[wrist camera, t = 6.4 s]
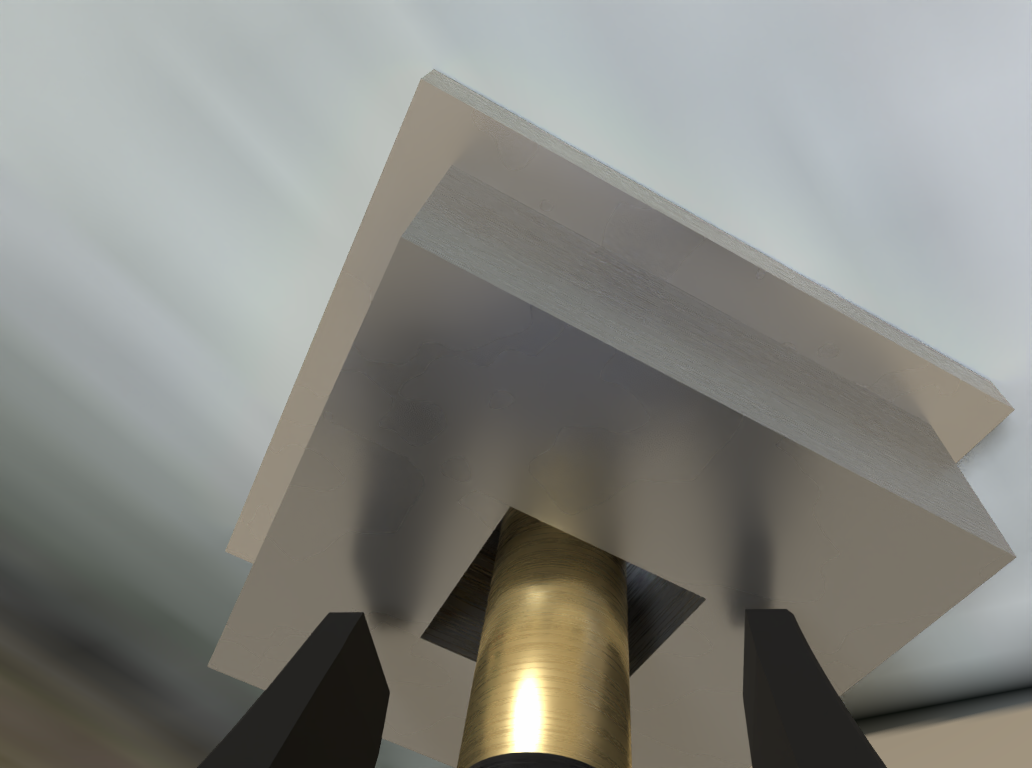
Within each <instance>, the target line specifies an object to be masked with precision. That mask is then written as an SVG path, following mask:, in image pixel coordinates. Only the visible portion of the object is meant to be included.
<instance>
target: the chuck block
mask: <svg viewBox="0 0 1032 768" xmlns="http://www.w3.org/2000/svg"><path fill="white" fill-rule="evenodd" d="M1014 410H1015V409H1014V408H1013V407H1012V406H1011V405H1010V404H1009V402H1008V401H1007V400H1006V399H1005V398H1004V396H1003V395H1002V394H1001V393H1000V392H999V391H998V389H997V388H996V387H995V386H994V385H993V383H992V382H991V381H989V380H987V379H985V378H983V377H982V376H980V375H978V374H976V373H975V372H973V371H971V370H969V369H967V368H966V367H964V366H962V365H960V364H959V363H957V362H955V361H953V360H951V359H950V358H948V357H946V356H944V355H942V354H941V353H939V352H937V351H935V350H934V349H932V348H930V347H928V346H926V345H925V344H923V343H921V342H919V341H918V340H916V339H914V338H912V337H910V336H909V335H907V334H905V333H903V332H902V331H900V330H898V329H896V328H894V327H893V326H891V325H889V324H887V323H885V322H884V321H882V320H880V319H878V318H877V317H875V316H873V315H871V314H869V313H868V312H866V311H864V310H862V309H861V308H859V307H857V306H855V305H853V304H852V303H850V302H848V301H846V300H844V299H843V298H841V297H839V296H837V295H836V294H834V293H832V292H830V291H828V290H827V289H825V288H823V287H821V286H820V285H818V284H816V283H814V282H812V281H811V280H809V279H807V278H805V277H804V276H802V275H800V274H798V273H796V272H795V271H793V270H791V269H789V268H787V267H786V266H784V265H782V264H780V263H779V262H777V261H775V260H773V259H771V258H770V257H768V256H766V255H764V254H763V253H761V252H759V251H757V250H755V249H754V248H752V247H750V246H748V245H746V244H745V243H743V242H741V241H739V240H738V239H736V238H734V237H732V236H730V235H729V234H727V233H725V232H723V231H722V230H720V229H718V228H716V227H714V226H713V225H711V224H709V223H707V222H706V221H704V220H702V219H700V218H698V217H697V216H695V215H693V214H691V213H689V212H688V211H686V210H684V209H682V208H681V207H679V206H677V205H675V204H673V203H672V202H670V201H668V200H666V199H665V198H663V197H661V196H659V195H657V194H656V193H654V192H652V191H650V190H648V189H647V188H645V187H643V186H641V185H640V184H638V183H636V182H634V181H632V180H631V179H629V178H627V177H625V176H624V175H622V174H620V173H618V172H616V171H615V170H613V169H611V168H609V167H608V166H606V165H604V164H602V163H600V162H599V161H597V160H595V159H593V158H591V157H590V156H588V155H586V154H584V153H583V152H581V151H579V150H577V149H575V148H574V147H572V146H570V145H568V144H567V143H565V142H563V141H561V140H559V139H558V138H556V137H554V136H552V135H550V134H549V133H547V132H545V131H543V130H542V129H540V128H538V127H536V126H534V125H533V124H531V123H529V122H527V121H526V120H524V119H522V118H520V117H518V116H517V115H515V114H513V113H511V112H510V111H508V110H506V109H504V108H502V107H501V106H499V105H497V104H495V103H493V102H492V101H490V100H488V99H486V98H485V97H483V96H481V95H479V94H477V93H476V92H474V91H472V90H470V89H469V88H467V87H465V86H463V85H461V84H460V83H458V82H456V81H454V80H452V79H451V78H449V77H447V76H445V75H444V74H442V73H440V72H438V71H436V70H435V69H433V70H432V71H431V72H429V73H428V74H427V75H425V76H424V77H423V78H421V80H420V82H419V85H418V87H417V90H416V92H415V94H414V97H413V99H412V102H411V104H410V106H409V109H408V111H407V114H406V116H405V118H404V121H403V123H402V126H401V128H400V131H399V133H398V135H397V138H396V140H395V143H394V145H393V147H392V150H391V152H390V155H389V157H388V160H387V162H386V164H385V167H384V169H383V172H382V174H381V176H380V179H379V181H378V184H377V186H376V189H375V191H374V193H373V196H372V198H371V201H370V203H369V205H368V208H367V210H366V213H365V215H364V218H363V220H362V222H361V225H360V227H359V230H358V232H357V234H356V237H355V239H354V242H353V244H352V246H351V249H350V251H349V254H348V256H347V259H346V261H345V263H344V266H343V268H342V271H341V273H340V275H339V278H338V280H337V283H336V285H335V288H334V290H333V292H332V295H331V297H330V300H329V302H328V304H327V307H326V309H325V312H324V314H323V317H322V319H321V321H320V324H319V326H318V329H317V331H316V333H315V336H314V338H313V341H312V343H311V346H310V348H309V350H308V353H307V355H306V358H305V360H304V362H303V365H302V367H301V370H300V372H299V374H298V377H297V379H296V382H295V384H294V387H293V389H292V391H291V394H290V396H289V399H288V401H287V403H286V406H285V408H284V411H283V413H282V416H281V418H280V420H279V423H278V425H277V428H276V430H275V432H274V435H273V437H272V440H271V442H270V445H269V447H268V449H267V452H266V454H265V457H264V459H263V461H262V464H261V466H260V469H259V471H258V474H257V476H256V478H255V481H254V483H253V486H252V488H251V490H250V493H249V495H248V498H247V500H246V502H245V505H244V507H243V510H242V512H241V515H240V517H239V519H238V522H237V524H236V527H235V529H234V531H233V534H232V536H231V539H230V541H229V544H228V546H227V548H226V551H225V552H228V553H230V554H232V555H235V556H237V557H239V558H241V559H244V560H246V561H248V562H251V563H253V566H252V568H251V571H250V573H249V575H248V577H247V580H246V582H245V584H244V586H243V588H242V591H241V593H240V595H239V597H238V600H237V602H236V604H235V606H234V608H233V611H232V613H231V615H230V617H229V620H228V622H227V624H226V626H225V628H224V631H223V633H222V635H221V637H220V639H219V642H218V644H217V646H216V648H215V651H214V653H213V655H212V657H211V659H210V662H209V664H208V666H207V667H209V668H212V669H214V670H217V671H219V672H222V673H224V674H226V675H229V676H231V677H234V678H236V679H239V680H241V681H244V682H246V683H248V684H251V685H253V686H256V687H258V688H261V689H263V690H266V689H267V688H268V686H269V685H270V684H271V683H272V682H273V680H274V679H275V678H276V677H277V675H278V674H279V673H280V672H281V671H282V669H283V668H284V667H285V666H286V664H287V663H288V662H289V661H290V660H291V658H292V657H293V656H294V655H295V653H296V652H297V651H298V650H299V648H300V647H301V646H302V645H303V643H304V642H305V641H306V640H307V638H308V637H309V636H310V635H311V633H312V632H313V631H314V630H315V628H316V627H317V626H318V625H319V624H320V622H321V621H322V620H323V619H324V618H325V616H326V615H327V614H328V613H329V612H364V615H365V618H366V621H367V624H368V627H369V630H370V633H371V636H372V639H373V642H374V645H375V648H376V651H377V654H378V657H379V660H380V663H381V666H382V669H383V672H384V675H385V678H386V681H387V684H388V687H389V690H390V696H389V702H388V707H387V713H386V719H385V724H384V729H383V734H382V738H383V739H386V740H388V741H391V742H393V743H395V744H398V745H400V746H403V747H405V748H408V749H410V750H413V751H415V752H418V753H420V754H422V755H425V756H427V757H430V758H432V759H435V760H437V761H440V762H442V763H445V764H447V765H449V766H452V767H454V768H457V764H458V759H459V753H460V748H461V743H462V737H463V732H464V726H465V721H466V716H467V710H468V705H469V699H470V694H471V688H472V683H473V678H474V672H475V667H476V661H477V656H478V650H479V645H480V640H481V634H482V629H483V623H484V618H485V613H486V607H487V602H488V596H489V591H490V585H491V580H492V575H493V569H494V564H495V558H496V553H497V547H498V542H499V537H500V531H501V526H502V520H503V516H504V515H505V513H506V512H507V510H508V509H509V508H510V506H511V507H513V508H515V509H517V510H519V511H521V512H523V513H525V514H528V515H530V516H532V517H534V518H536V519H538V520H540V521H542V522H544V523H547V524H549V525H551V526H553V527H555V528H557V529H559V530H561V531H564V532H566V533H568V534H570V535H572V536H574V537H576V538H578V539H580V540H583V541H585V542H587V543H589V544H591V545H593V546H595V547H597V548H600V549H602V550H604V551H606V552H608V553H610V554H612V555H614V556H616V557H619V558H621V559H623V560H625V561H626V571H627V607H628V643H629V679H630V715H631V751H632V768H749V767H750V766H752V762H751V754H750V747H749V740H748V733H747V725H746V718H745V710H744V703H743V665H744V630H745V609H787V610H789V611H790V612H791V613H793V614H794V616H795V618H796V621H797V623H798V625H799V627H800V629H801V631H802V633H803V635H804V637H805V639H806V640H807V642H808V644H809V646H810V648H811V650H812V652H813V653H814V655H815V657H816V659H817V660H818V662H819V664H820V666H821V667H822V669H823V671H824V672H825V674H826V676H827V677H828V679H829V681H830V682H831V684H832V686H833V687H834V689H835V691H836V692H837V694H838V695H839V696H841V695H842V694H843V693H844V692H846V691H847V690H848V689H849V688H851V687H852V686H853V685H855V684H856V683H857V682H858V681H860V680H861V679H862V678H863V677H865V676H866V675H867V674H869V673H870V672H871V671H872V670H874V669H875V668H876V667H877V666H879V665H880V664H881V663H882V662H884V661H885V660H886V659H888V658H889V657H890V656H891V655H893V654H894V653H895V652H896V651H898V650H899V649H900V648H902V647H903V646H904V645H905V644H907V643H908V642H909V641H910V640H912V639H913V638H914V637H916V636H917V635H918V634H919V633H921V632H922V631H923V630H924V629H926V628H927V627H928V626H929V625H931V624H932V623H933V622H935V621H936V620H937V619H938V618H940V617H941V616H942V615H943V614H945V613H946V612H947V611H949V610H950V609H951V608H952V607H954V606H955V605H956V604H957V603H959V602H960V601H961V600H963V599H964V598H965V597H966V596H968V595H969V594H970V593H971V592H973V591H974V590H975V589H976V588H978V587H979V586H980V585H982V584H983V583H984V582H985V581H987V580H988V579H989V578H990V577H992V576H993V575H994V574H996V573H997V572H998V571H999V570H1001V569H1002V568H1003V567H1004V566H1006V565H1007V564H1008V563H1010V562H1011V561H1012V560H1013V559H1015V558H1016V556H1015V554H1014V552H1013V551H1012V549H1011V548H1010V546H1009V545H1008V543H1007V542H1006V540H1005V539H1004V537H1003V536H1002V534H1001V532H1000V531H999V529H998V528H997V526H996V525H995V523H994V522H993V520H992V519H991V517H990V515H989V514H988V512H987V511H986V509H985V508H984V506H983V505H982V503H981V502H980V500H979V498H978V497H977V495H976V494H975V492H974V491H973V489H972V488H971V486H970V485H969V483H968V482H967V480H966V478H965V477H964V475H963V474H962V472H961V471H960V469H959V468H958V466H957V465H956V463H957V462H958V461H959V460H960V459H961V458H962V457H963V456H964V455H966V454H967V453H968V452H969V451H970V450H971V449H972V448H973V447H974V446H975V445H976V444H978V443H979V442H980V441H981V440H982V439H983V438H984V437H985V436H986V435H987V434H989V433H990V432H991V431H992V430H993V429H994V428H995V427H996V426H997V425H998V424H999V423H1001V422H1002V421H1003V420H1004V419H1005V418H1006V417H1007V416H1008V415H1009V414H1010V413H1011V412H1013V411H1014Z"/></svg>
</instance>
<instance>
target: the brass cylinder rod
mask: <svg viewBox="0 0 1032 768" xmlns="http://www.w3.org/2000/svg"><path fill="white" fill-rule="evenodd" d="M457 768H632V751H631V715H630V679H629V643H628V607H627V571H626V561H625V560H623V559H621V558H619V557H616V556H614V555H612V554H610V553H608V552H606V551H604V550H602V549H600V548H597V547H595V546H593V545H591V544H589V543H587V542H585V541H583V540H580V539H578V538H576V537H574V536H572V535H570V534H568V533H566V532H564V531H561V530H559V529H557V528H555V527H553V526H551V525H549V524H547V523H544V522H542V521H540V520H538V519H536V518H534V517H532V516H530V515H528V514H525V513H523V512H521V511H519V510H517V509H515V508H513V507H511V506H510V508H509V509H508V510H507V512H506V513H505V515H504V516H503V520H502V526H501V531H500V537H499V542H498V547H497V553H496V558H495V564H494V569H493V575H492V580H491V585H490V591H489V596H488V602H487V607H486V613H485V618H484V623H483V629H482V634H481V640H480V645H479V650H478V656H477V661H476V667H475V672H474V678H473V683H472V688H471V694H470V699H469V705H468V710H467V716H466V721H465V726H464V732H463V737H462V743H461V748H460V753H459V759H458V764H457Z"/></svg>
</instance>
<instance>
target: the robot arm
mask: <svg viewBox="0 0 1032 768" xmlns="http://www.w3.org/2000/svg"><path fill="white" fill-rule="evenodd" d="M389 696H390V690H389V687H388V684H387V681H386V678H385V675H384V672H383V669H382V666H381V663H380V660H379V657H378V654H377V651H376V648H375V645H374V642H373V639H372V636H371V633H370V630H369V627H368V624H367V621H366V618H365V615H364V612H329V613H328V614H327V615H326V616H325V618H324V619H323V620H322V621H321V622H320V624H319V625H318V626H317V627H316V628H315V630H314V631H313V632H312V633H311V635H310V636H309V637H308V638H307V640H306V641H305V642H304V643H303V645H302V646H301V647H300V648H299V650H298V651H297V652H296V653H295V655H294V656H293V657H292V658H291V660H290V661H289V662H288V663H287V664H286V666H285V667H284V668H283V669H282V671H281V672H280V673H279V674H278V675H277V677H276V678H275V679H274V680H273V682H272V683H271V684H270V685H269V686H268V688H267V689H266V690H265V691H264V692H263V694H262V695H261V696H260V697H259V698H258V699H257V701H256V702H255V703H254V704H253V705H252V707H251V708H250V709H249V710H248V711H247V712H246V714H245V715H244V716H243V717H242V718H241V720H240V721H239V722H238V723H237V724H236V725H235V726H234V728H233V729H232V730H231V731H230V732H229V733H228V734H227V736H226V737H225V738H224V739H223V740H222V741H221V742H220V743H219V744H218V745H217V746H216V748H215V749H214V750H213V751H212V752H211V753H210V754H209V755H208V756H207V757H206V758H205V760H204V761H203V762H202V763H201V764H200V765H199V766H198V767H197V768H375V764H376V761H377V758H378V754H379V749H380V744H381V739H382V734H383V729H384V724H385V719H386V713H387V707H388V702H389ZM743 703H744V710H745V718H746V725H747V733H748V740H749V747H750V754H751V762H752V767H753V768H887V767H886V766H885V764H884V763H883V761H882V760H881V759H880V757H879V756H878V754H877V753H876V752H875V750H874V749H873V747H872V746H871V744H870V743H869V741H868V740H867V738H866V737H865V735H864V734H863V732H862V731H861V729H860V728H859V726H858V725H857V723H856V722H855V720H854V719H853V717H852V716H851V714H850V713H849V711H848V710H847V708H846V707H845V705H844V703H843V702H842V700H841V699H840V697H839V695H838V694H837V692H836V691H835V689H834V687H833V686H832V684H831V682H830V681H829V679H828V677H827V676H826V674H825V672H824V671H823V669H822V667H821V666H820V664H819V662H818V660H817V659H816V657H815V655H814V653H813V652H812V650H811V648H810V646H809V644H808V642H807V640H806V639H805V637H804V635H803V633H802V631H801V629H800V627H799V625H798V623H797V621H796V618H795V616H794V614H793V613H791V612H790V611H789V610H787V609H745V630H744V665H743Z"/></svg>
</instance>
